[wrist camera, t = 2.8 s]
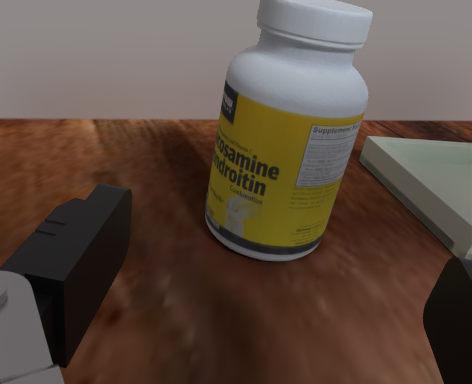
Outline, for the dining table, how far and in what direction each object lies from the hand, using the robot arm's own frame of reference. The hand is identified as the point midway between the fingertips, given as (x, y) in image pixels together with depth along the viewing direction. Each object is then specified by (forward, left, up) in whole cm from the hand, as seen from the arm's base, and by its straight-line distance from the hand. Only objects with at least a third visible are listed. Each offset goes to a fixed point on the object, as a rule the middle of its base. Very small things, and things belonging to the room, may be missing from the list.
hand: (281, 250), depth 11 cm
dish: (-21, -13, -7) cm, 26 cm away
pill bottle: (-4, -10, -7) cm, 13 cm away
